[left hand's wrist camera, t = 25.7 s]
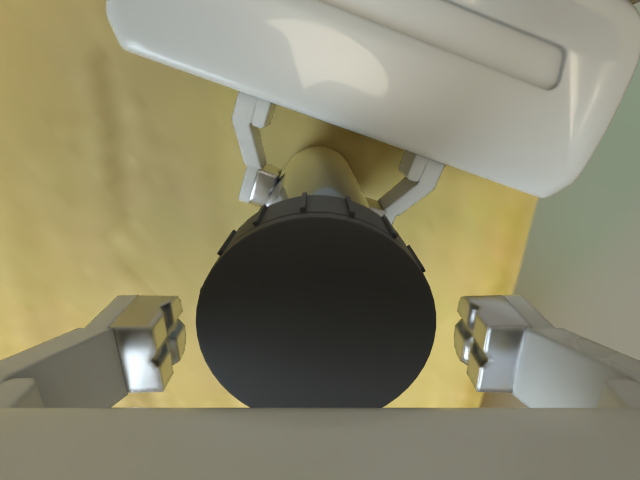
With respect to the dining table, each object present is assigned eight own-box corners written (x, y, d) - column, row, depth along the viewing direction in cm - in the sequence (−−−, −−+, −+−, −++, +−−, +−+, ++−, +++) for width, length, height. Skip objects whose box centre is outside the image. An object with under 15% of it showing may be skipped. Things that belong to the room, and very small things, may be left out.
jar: (305, 132, 22) (280, 183, 8) (366, 170, 23) (446, 279, 9) (269, 194, 23) (193, 336, 9) (329, 228, 24) (345, 408, 10)
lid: (390, 164, 9) (408, 180, 7) (433, 344, 10) (458, 396, 8) (184, 227, 9) (151, 258, 7) (258, 389, 11) (245, 447, 9)
